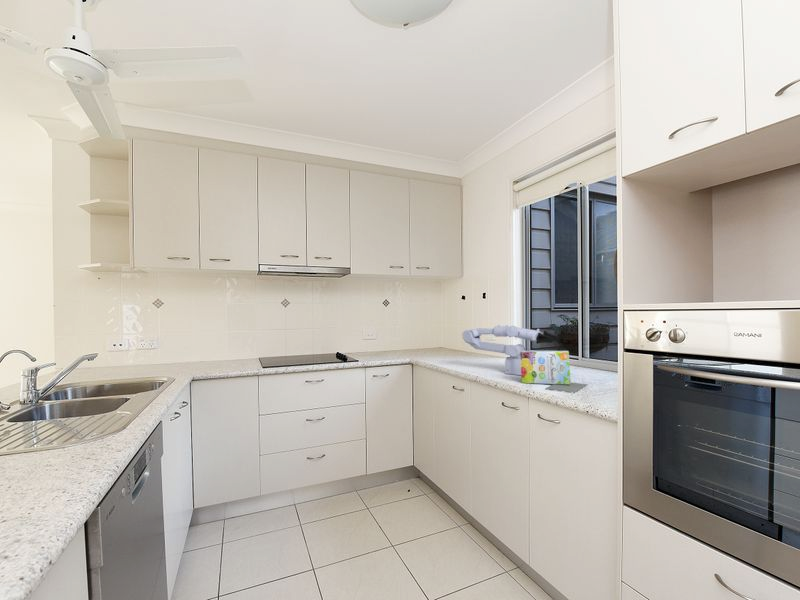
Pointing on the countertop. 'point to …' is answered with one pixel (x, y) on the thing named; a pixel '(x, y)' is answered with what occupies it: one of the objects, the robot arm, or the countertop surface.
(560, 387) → the mat
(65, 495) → the countertop surface
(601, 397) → the countertop surface
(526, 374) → the snack box
